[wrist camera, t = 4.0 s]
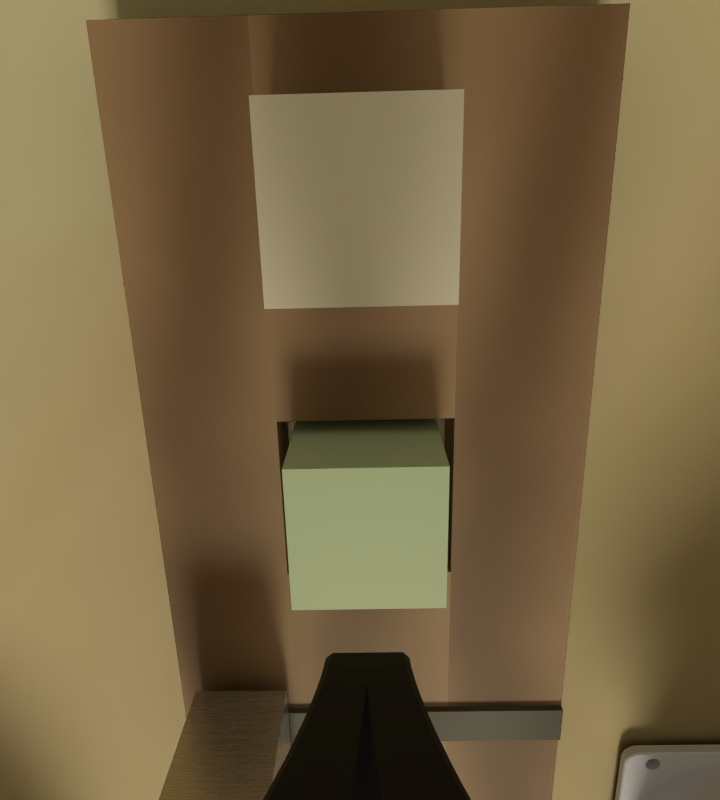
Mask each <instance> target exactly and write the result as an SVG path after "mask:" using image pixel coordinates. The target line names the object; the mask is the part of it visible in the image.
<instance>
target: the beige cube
mask: <svg viewBox="0 0 720 800" xmlns="http://www.w3.org/2000/svg"><path fill="white" fill-rule="evenodd" d="M249 108H250V121H251V135H252V149H253V162H254V176H255V189H256V203H257V216H258V230H259V243H260V257H261V271H262V284H263V298H264V309H291V308H336V307H380V306H425V305H459V276H460V237H461V198H462V160H463V121H464V89H451V90H416V91H381V92H346V93H311V94H276V95H249Z"/></svg>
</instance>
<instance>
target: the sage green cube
mask: <svg viewBox="0 0 720 800" xmlns="http://www.w3.org/2000/svg"><path fill="white" fill-rule="evenodd" d="M449 476H450V466H449V462H448V459H447V456H446V452H445V449H444V446H443V442H442V439H441V435H440V432H439V429H438V425H437V422H436V419H389V420H337V421H296V424H295V428H294V431H293V434H292V438H291V441H290V444H289V447H288V451H287V454H286V457H285V461H284V464H283V467H282V479H283V493H284V507H285V522H286V536H287V550H288V564H289V578H290V592H291V607H292V610H344V609H416V608H446V605H447V562H448V519H449Z"/></svg>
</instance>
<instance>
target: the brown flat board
mask: <svg viewBox="0 0 720 800" xmlns="http://www.w3.org/2000/svg"><path fill="white" fill-rule="evenodd" d="M629 10H630V3H627V4H594V5H562V6H530V7H497V8H465V9H433V10H401V11H368V12H336V13H304V14H271V15H239V16H207V17H174V18H142V19H110V20H86V23H87V30H88V37H89V44H90V51H91V58H92V65H93V72H94V79H95V86H96V93H97V100H98V107H99V114H100V121H101V128H102V135H103V142H104V148H105V155H106V162H107V169H108V176H109V183H110V190H111V197H112V204H113V211H114V218H115V225H116V232H117V239H118V246H119V253H120V260H121V267H122V274H123V281H124V288H125V295H126V301H127V308H128V315H129V322H130V329H131V336H132V343H133V350H134V357H135V364H136V371H137V378H138V385H139V392H140V399H141V406H142V413H143V420H144V427H145V434H146V441H147V447H148V454H149V461H150V468H151V475H152V482H153V489H154V496H155V503H156V510H157V517H158V524H159V531H160V538H161V545H162V552H163V559H164V566H165V573H166V580H167V587H168V593H169V600H170V607H171V614H172V621H173V628H174V635H175V642H176V649H177V656H178V663H179V670H180V677H181V684H182V691H183V698H184V705H185V712H186V718H187V716H188V713H189V710H190V707H191V704H192V701H193V698H194V695H195V692H196V691H274V690H287V701H288V714H289V727H290V740H291V746H292V744H293V742H294V739H295V737H296V735H297V733H298V731H299V729H300V727H301V725H302V723H303V720H304V718H305V716H306V714H307V711H308V709H309V706H310V704H311V702H312V699H313V697H314V694H315V692H316V689H317V686H318V683H319V681H320V678H321V674H322V671H323V668H324V664H325V660H326V658H327V657H328V656H329V655H330V654H332V653H365V652H404V653H405V654H406V655H407V656H408V657H409V658H410V663H411V667H412V671H413V674H414V678H415V681H416V684H417V687H418V689H419V692H420V695H421V697H422V700H423V702H424V705H425V707H426V710H427V712H428V715H429V717H430V719H431V722H432V724H433V726H434V728H435V731H436V733H437V735H438V737H439V739H440V741H441V743H442V745H443V747H444V749H445V751H446V753H447V755H448V757H449V759H450V761H451V763H452V765H453V767H454V769H455V771H456V773H457V775H458V777H459V779H460V781H461V782H462V784H463V786H464V788H465V790H466V791H467V793H468V795H469V797H470V798H471V800H552V792H553V782H554V772H555V762H556V751H557V741H558V740H560V734H561V724H562V714H563V709H562V707H561V701H562V690H563V680H564V670H565V660H566V650H567V640H568V630H569V619H570V609H571V599H572V589H573V579H574V569H575V558H576V548H577V538H578V528H579V518H580V508H581V497H582V487H583V477H584V467H585V457H586V447H587V436H588V426H589V416H590V406H591V396H592V386H593V375H594V365H595V355H596V345H597V335H598V325H599V314H600V304H601V294H602V284H603V274H604V264H605V253H606V243H607V233H608V223H609V213H610V203H611V192H612V182H613V172H614V162H615V152H616V142H617V131H618V121H619V111H620V101H621V91H622V81H623V70H624V60H625V50H626V40H627V30H628V20H629ZM451 89H464V121H463V160H462V198H461V237H460V276H459V305H425V306H380V307H336V308H291V309H264V298H263V284H262V271H261V257H260V243H259V230H258V216H257V203H256V189H255V176H254V162H253V149H252V135H251V121H250V108H249V95H276V94H311V93H346V92H381V91H416V90H451ZM441 418H445V452H446V456H447V459H448V462H449V466H450V476H449V519H448V562H447V605H446V608H416V609H344V610H292V607H291V592H290V578H289V564H288V550H287V536H286V522H285V507H284V493H283V479H282V467H283V464H284V461H285V457H286V454H287V451H288V447H289V441H288V426H287V421H337V420H389V419H441Z"/></svg>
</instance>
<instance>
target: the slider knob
mask: <svg viewBox="0 0 720 800" xmlns="http://www.w3.org/2000/svg"><path fill="white" fill-rule="evenodd" d="M290 748H291V740H290V727H289V714H288V701H287V690H274V691H196V692H195V695H194V698H193V701H192V704H191V707H190V710H189V713H188V716H187V718H186V721H185V724H184V727H183V730H182V733H181V736H180V739H179V742H178V745H177V748H176V751H175V754H174V757H173V760H172V762H171V765H170V768H169V771H168V774H167V777H166V780H165V783H164V786H163V789H162V792H161V795H160V798H159V800H263V798H264V797H265V795H266V793H267V791H268V789H269V788H270V786H271V784H272V782H273V780H274V778H275V777H276V775H277V773H278V771H279V769H280V768H281V766H282V764H283V762H284V760H285V758H286V756H287V754H288V752H289V750H290Z"/></svg>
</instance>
